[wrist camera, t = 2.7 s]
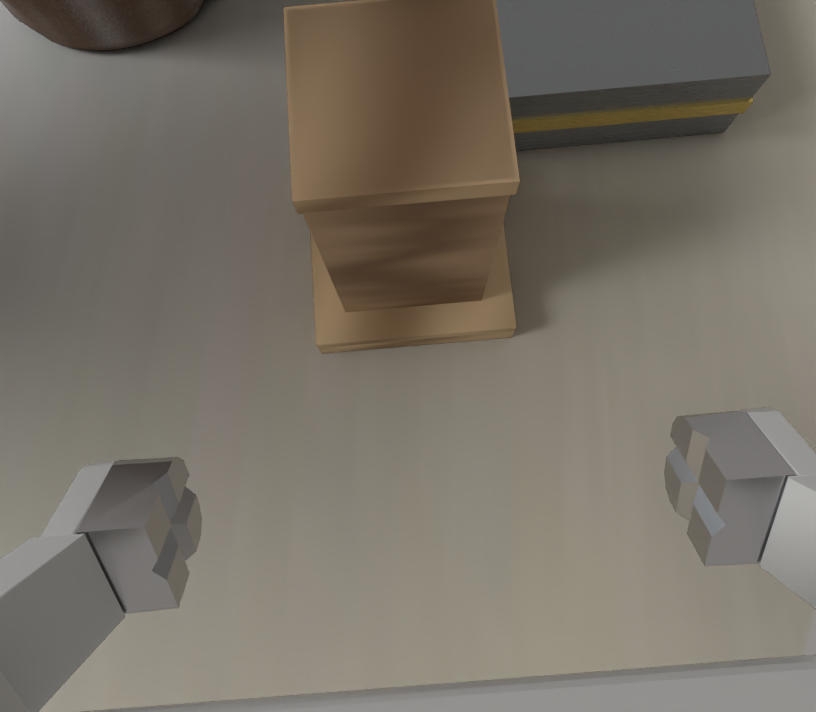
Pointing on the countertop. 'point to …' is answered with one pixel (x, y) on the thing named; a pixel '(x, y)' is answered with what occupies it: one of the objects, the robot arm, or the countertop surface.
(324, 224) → the crate
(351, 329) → the pallet
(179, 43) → the countertop surface
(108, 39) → the plant pot
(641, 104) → the dock
